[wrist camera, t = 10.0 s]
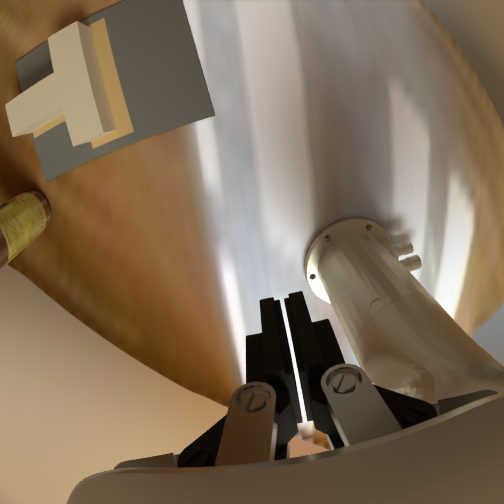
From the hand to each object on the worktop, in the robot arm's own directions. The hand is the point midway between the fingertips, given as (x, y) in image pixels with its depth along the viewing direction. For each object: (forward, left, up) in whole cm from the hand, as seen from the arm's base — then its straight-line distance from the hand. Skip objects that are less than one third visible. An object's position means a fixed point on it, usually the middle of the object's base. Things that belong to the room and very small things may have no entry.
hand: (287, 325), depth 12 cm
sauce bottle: (+29, -6, -26) cm, 39 cm away
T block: (+19, -18, -25) cm, 36 cm away
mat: (+13, -18, -25) cm, 34 cm away
